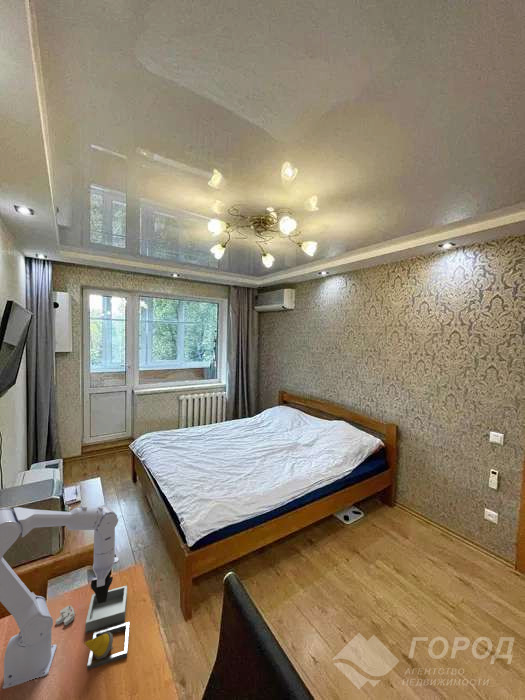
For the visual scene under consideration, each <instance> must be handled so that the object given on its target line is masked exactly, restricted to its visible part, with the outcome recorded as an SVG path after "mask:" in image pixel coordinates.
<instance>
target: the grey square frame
mask: <svg viewBox="0 0 525 700" xmlns="http://www.w3.org/2000/svg"><path fill="white" fill-rule="evenodd" d="M124 631H125V635H124V636H125V637H124V647H123V649H124V650H123V651H119V652H117V653H114V654H111V655H110V654H109V655H107V656H106V657H104V658H101V659H95V660H93V659H94V653H93V652H92V651H91V650H90V649H89V655H88V661H87V664H86V665H87V667H86V669H87V671H89V670H91V669H94V668H97V667H101V666H105V665H108V664H110V663H114V662H117V661H119V660H122V659H126V658H128V651H129V636H130V621H128V622H125V623H122V624H118V625H115V626H111V627H108V628H104V629H100V630H97V631H93V635H92V639H94V638H96V637H99V636H101V635H102V634H103V633H105V632H110V633H112V635H114V634H117V633H121V632H124Z"/></svg>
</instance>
